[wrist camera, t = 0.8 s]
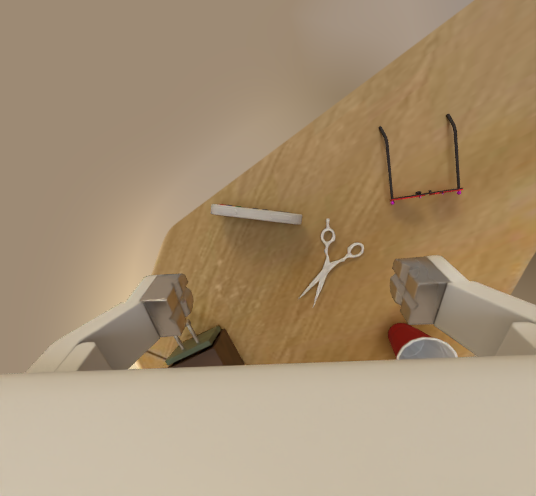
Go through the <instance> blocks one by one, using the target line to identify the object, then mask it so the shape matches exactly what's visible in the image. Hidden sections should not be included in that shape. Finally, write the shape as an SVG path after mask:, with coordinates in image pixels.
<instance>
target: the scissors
mask: <svg viewBox="0 0 536 496" xmlns="http://www.w3.org/2000/svg"><path fill="white" fill-rule="evenodd" d="M326 223H327V225H326V227H327V228H325V229H324V230H323V231H322V233H321V240H322V242H323V243H324V244H325V247H326V248H325V250H324V252H325V253H326V260H325V263H324V266H323V270H322V271H321V272H320V273H319V274H318V275H317V276H316V278H315V279H314V280H313V281H312V282H311V283H310V285H309V286H308V287H307V289H306V290H305V291H304V292H303V293H302V295H301V296H300V297H299V299H300V298H301V297H302V296H303V295H304V294H305V293H306V292H307V291H308V290H309V289H311V288H312V287H313V286H314V285H315V284H316V283H317V282H318V281H319V280H320V281H319V285H318V289H317V293H316V297H315V302H316V300H317V298H318V296H319V293H320V291H321V289H322V286H323V284H324V281H325V279H326V276H327V274H328V272H329V271H330V270H331V269H332V268H333V267H334V266H335V265H336V264H337V263H339V262H343V261H345V259H346V258H348V257H358V256H360V255H361V254H362V253H363V251H364V246H363V245H362V244H361V243H359V242H357V243H353V244H351V245H350V246H349V247H348V254H346V255H345V257H344V258H342V259H340V260H337V261H333V262H329V257H328V253H327V249H328V246H329V244H330V243H331V242H333V241H335V233H334V231H333V230H332V229H330V228H329V219H326ZM327 230H330V231H331V232H332V238H331V240H330V241H328V242H326V241H325V240H324V238H323V235H324V233H325V231H327ZM355 245H360V246H361V251H360V253H359V254H357V255H352V254H351V249H352V248H353V247H354V246H355ZM315 302H314V305H315ZM313 307H314V306H313Z"/></svg>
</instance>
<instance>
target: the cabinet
mask: <svg viewBox="0 0 536 496" xmlns="http://www.w3.org/2000/svg"><path fill="white" fill-rule="evenodd" d="M217 337H218V338H217ZM216 338H217V340H216V341H215V343H214V345H213V346H212V348H210V349H208V350H206V351H203V352H201V353H199V354H197V355H195V356H193V357H191V358H189V359H187V360H184V361H182V362H180V363H179V361H180V360H181V359H180V360H178V361H176V362H174V363H172V364H170V365H169V367H168V368H182V367H208V366H234V365H245V364H244V362H243V360H242V358H241V357H240V355H239V353H238V351H237V349H236V348H235V346H234V344H233V342H232V341H231V339H230V337H229V335H228V333H227V332H226V330H225V329H223V330H221V331H220V332H219V333H218V335H217V336H216Z"/></svg>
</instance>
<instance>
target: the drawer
mask: <svg viewBox="0 0 536 496" xmlns="http://www.w3.org/2000/svg"><path fill="white" fill-rule="evenodd" d="M186 321H187V323H186V325H185V327H186V326H187V327H188V329H189V331H190V332H191V334H192V336H193V338H192V339H190V340H187V341H185V342H183V343H182V342H181V340H180V339H179V337H178V336H174V338H175V339H176V341H177V343H178V345H179V346H178V347H177V348H176V349H175V350H174V352H173V353H172V354H171V355H170V356H169V357H168V359H167V360H166V363H167V365H170V364H172V363H174V362H176V361H178V360H180V359H181V360H180V361H179V363H180V362H182V361H184V360H187V359H189V358H191V357H193V356H195V355H197V354H199V353H201V352H203V351H206V350H208V349H210V348H212V346H213V345H214V343H215V341H216V340H217V338H218V337H217V338H216V336H217V335H218V333H219V332H220V330H221V329H220V327H219V326H216V327H214V328H212V329H210V330H208V331H206V332H204V333H202V334H200V335H198V336H197V335H196V334H195V332H194V330H193V328H192V327H191V325H190V324H191V322H190V320H186Z"/></svg>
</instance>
